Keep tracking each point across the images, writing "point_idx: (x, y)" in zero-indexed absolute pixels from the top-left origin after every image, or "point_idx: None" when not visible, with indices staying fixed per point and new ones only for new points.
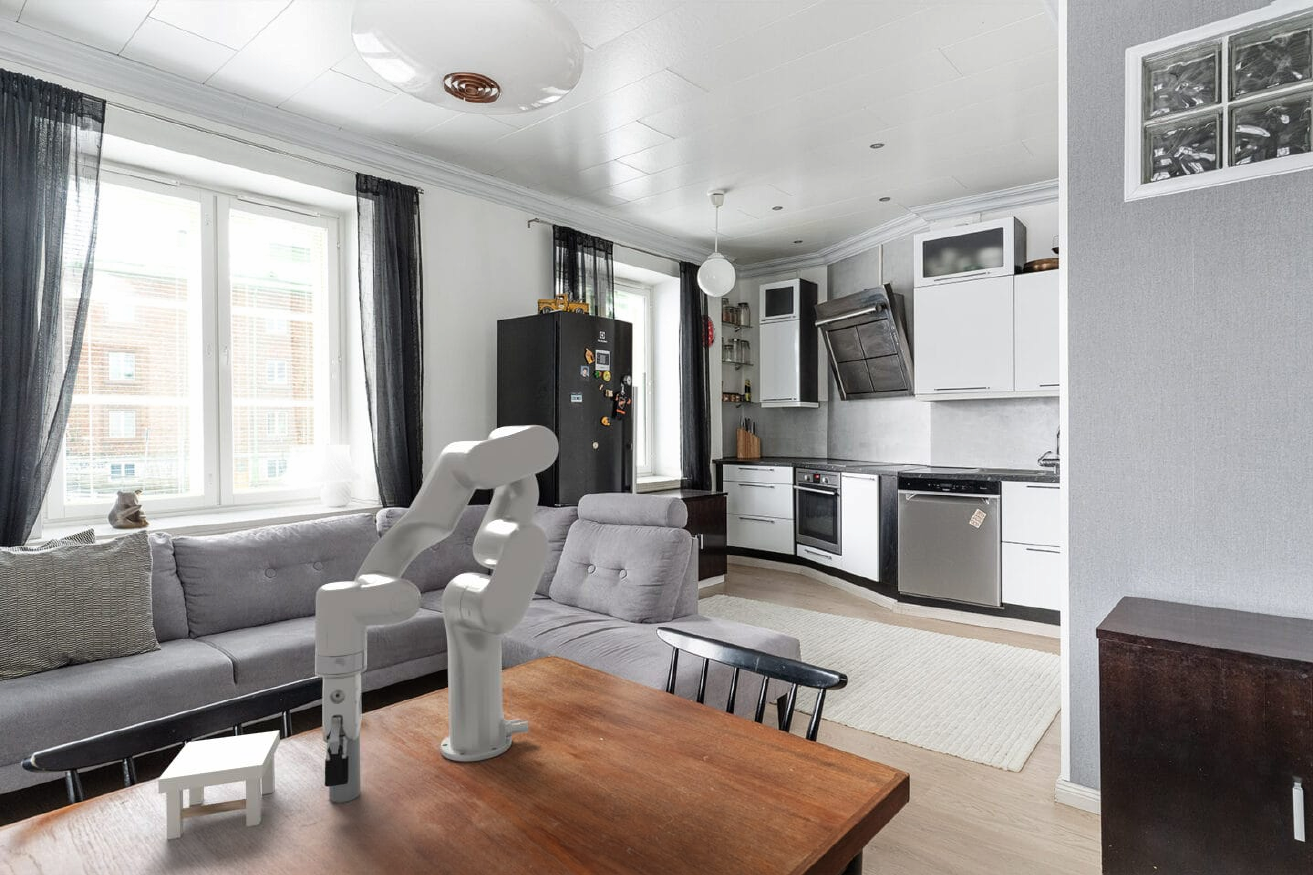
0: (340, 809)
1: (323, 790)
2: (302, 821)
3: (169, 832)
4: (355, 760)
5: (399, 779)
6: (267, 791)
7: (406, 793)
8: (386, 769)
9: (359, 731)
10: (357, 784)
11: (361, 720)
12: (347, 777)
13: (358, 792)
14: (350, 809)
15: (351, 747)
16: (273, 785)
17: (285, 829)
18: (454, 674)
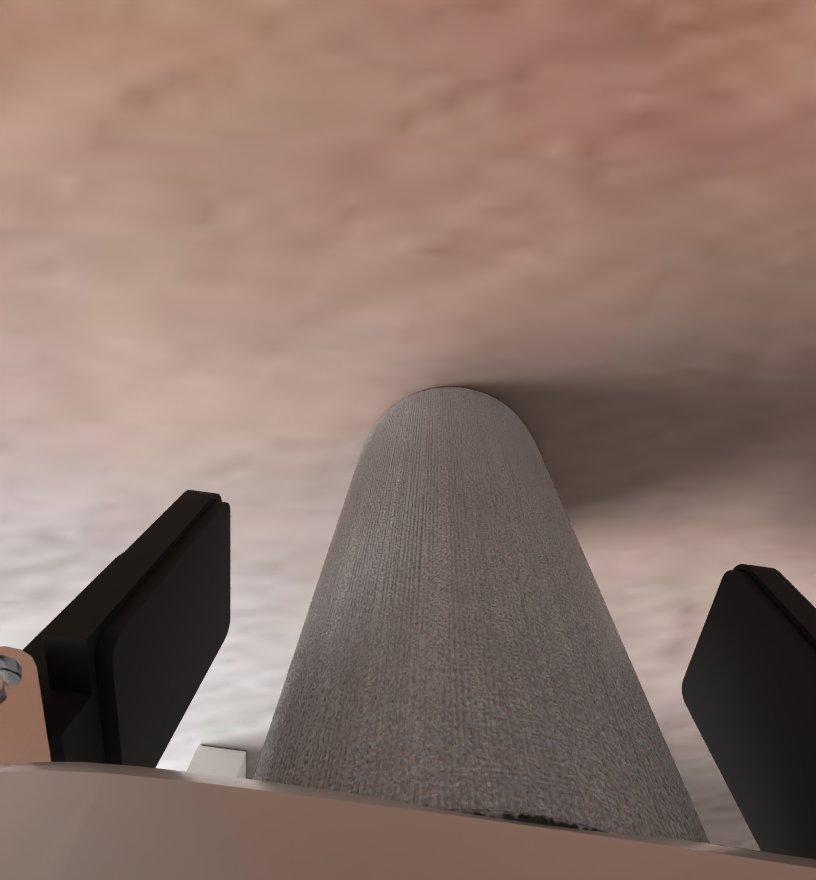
0: (612, 498)
1: (319, 567)
2: (629, 655)
3: None
4: (570, 548)
5: (368, 94)
6: (243, 775)
7: (652, 55)
8: (148, 187)
9: (488, 751)
10: (517, 433)
11: (41, 778)
12: (798, 595)
13: (503, 406)
14: (649, 449)
15: (651, 712)
16: (219, 772)
17: (662, 712)
18: None
